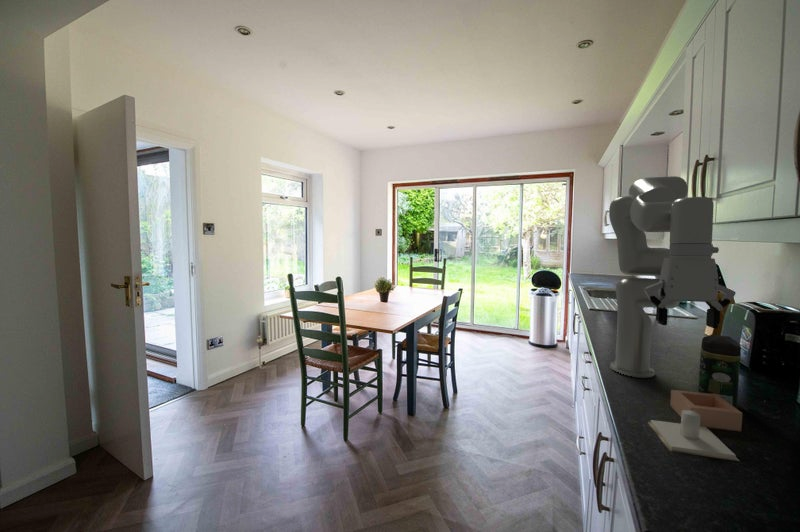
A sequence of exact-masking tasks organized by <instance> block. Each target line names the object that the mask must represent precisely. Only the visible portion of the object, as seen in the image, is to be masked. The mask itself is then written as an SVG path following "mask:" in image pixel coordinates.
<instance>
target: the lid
mask: <svg viewBox="0 0 800 532" xmlns="http://www.w3.org/2000/svg"><path fill="white" fill-rule="evenodd" d="M700 417H701V416H700V414H698V413H696V412H694V411H690V410H682V414H681V416H680V418H681V419H680V423H679V422H669V421H664V420H663V421H662V420H654V419H650V422H651V424H652V426H653V427H654V428H655V430H656V431H657V432H658V433H659V435H660V436H661V437H662V439H663V440H664V441H665V442H666V444H667V445H668V446H669V447H670V449H671V450H676V451H683V452H690V453H697V454H704V455H711V456H718V457H725V458H731V459H735V458H737V456H736V454H735V453H734V452H733V451H732V450H731V449H729V448H728V446H726V445H725V444H724V443H723V441H721V440H720V439H719V438H718V437H717V436H716V435H715V434H714V433H713V432H712V431H711V430H710V428H707V427H703V426H700Z"/></svg>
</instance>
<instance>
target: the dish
mask: <svg viewBox="0 0 800 532" xmlns="http://www.w3.org/2000/svg"><path fill="white" fill-rule="evenodd" d="M669 405H670V407H671V409H673V410H674V411H675V412H676V413H677V414H678V415H679V417H681V414H682V410H690V411H694V412H696V413H698V414H700V416H701V417H700V426H703V427H706V428H707V429H715V430H716V429H717V430H722V431H731V432H733V431H734V432H740V433H741V432H742V426H743V425H742V424H743V412H742V411H740V410H739V409H738V408H735V407H733V406H732V405H731V404H729V403H728V402H727V401H725V400H724V399H723V398H721V397H720V396H719V395H717V394H709V393H700V392H698V391H691V390H690V391H687V390H678V389H671V390H670V404H669Z"/></svg>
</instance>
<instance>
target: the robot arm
mask: <svg viewBox="0 0 800 532" xmlns="http://www.w3.org/2000/svg"><path fill="white" fill-rule="evenodd" d="M688 191H689V189H688V183H687V181H686V180H685V179H684V178H683V177H682V176H681V177H680V176H675V175H674V176H653V177H645V178H640V179H637V180H635V181H634V182H633V183H632V184H631V185H630V187H629V188H628V195H625V196H620V197H616V198H614V199H613V200H612V201H611V202H610V205H609V208H608V209H609V210H608V213H609V215H608V216H609V221H610V225H611V228H612V230H613V231H614V235H615V238H616V242H617V243H616V245H617V256H618V266H619V270H620V272H621V273H622V274H624V275H627V276H641V277H628V278H627V277H626V278H622V279H620V280H619V281H618V282H617V284H616V286H615V296H616V303H617V323H616V324H617V326H616V327H617V328H616V342H615V343H616V345H615V360H614V361H612V362H610V364H609V369H611V370H612V371H613V370H614V371H613V372H615V371H616V372H615V373H617V372H619V373H618V374H620V373H621V375H623V374H624V376H626V375H627V377H631V376H632V377H633V378H638V379H639V378H640V379H647V378H653V377H654V376H655V373H656V372H655V369H653V368H652V367H650V360H651V359H650V357H651V343H652V328H653V327H652V326H653V324H652V323H653V322H652V319H651V317H650V316H649V314H647V312H646V311H645V309H644V308H656V309H655V320H656V321H657V323H658V324H660V325H661V326H668V309H674V308H676V307H678V306H679V304H680V303H681V302H696V303H706V305H707V307H709V308H707V310H706V321H705V325H706V326H707V327H709V328H712V329H718V327H719V325H720V323H721V322H720V317H721V311H723V310H724V308H726V307H727V306H728V305H730V304H731V301H732V300H733V298H734V297H735V296H736V291H734V290H733V289H730V288H729V287H728V288H727V287H726V286H724V285H721V283H720V284H719V273H718V268H717V263H716V259H715V258H713V257H712V256H713V254H718V253H719V250H720V248H719V247H718V246H714V244H713V228H714V227H713V224H714V210H715V209H714V207H715V206H714V200H713V199H712V198H710V197H707V196H692V197H691V196H690V197H689V196H688V197H687V195H688ZM646 233H669V246H668V247H669V248H666V247H649V246H648V243H647V236H646ZM642 276H644V277H642ZM648 277H656V278H648ZM719 292H720V293H721V294H723V295H722V297H721V298H720V299H718V296H719ZM717 299H718V300H717ZM632 377H631V378H632Z"/></svg>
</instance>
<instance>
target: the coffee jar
mask: <svg viewBox="0 0 800 532" xmlns="http://www.w3.org/2000/svg"><path fill="white" fill-rule="evenodd" d="M742 349H743V348H742V346H741V344H740V343H739V342H738V341H737V340H735V339H733V338H732V337H731V336H728V335H727V336H726V335H721V334H713V333H712V334H710V335H706V336H704V337H702V340H701V345H700V354H699V355H700V356H699V358H700V359H699V371H698V372H699V374H698V391H697V392H700V393H709V394H717V395H719V396H720V397H721V398H723V399H724V400H725V401H727V402H728V403H729V404H731V405H732V406H733V407H735V408H736V409H738V398H739V397H738V396H739V395H738V394H739V382H740V368H741V355H742Z"/></svg>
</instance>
